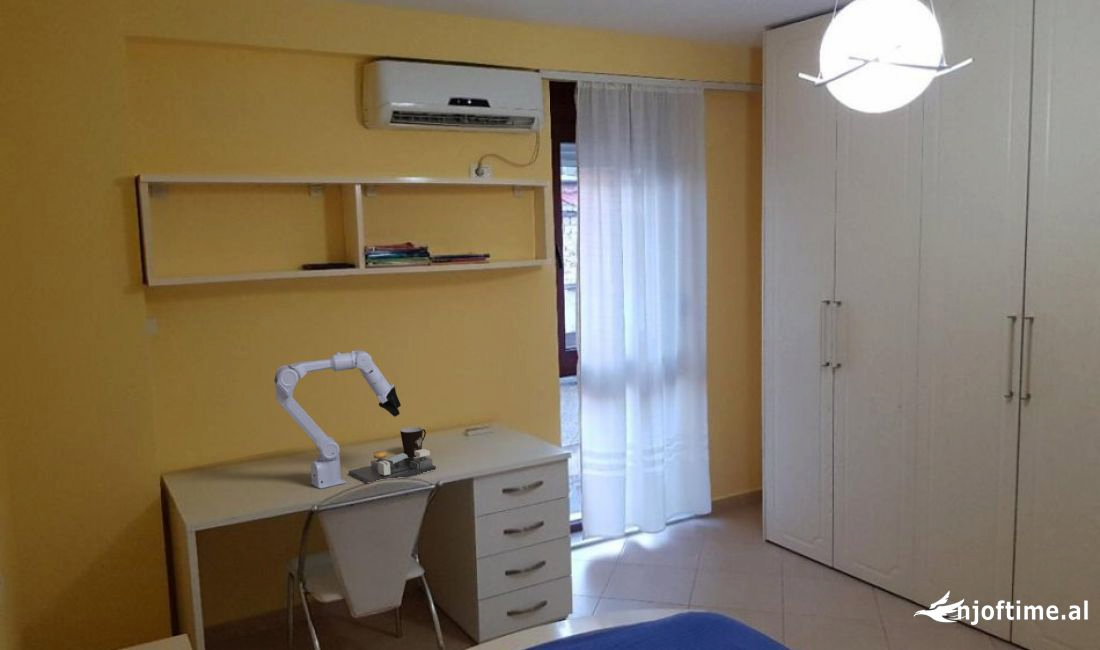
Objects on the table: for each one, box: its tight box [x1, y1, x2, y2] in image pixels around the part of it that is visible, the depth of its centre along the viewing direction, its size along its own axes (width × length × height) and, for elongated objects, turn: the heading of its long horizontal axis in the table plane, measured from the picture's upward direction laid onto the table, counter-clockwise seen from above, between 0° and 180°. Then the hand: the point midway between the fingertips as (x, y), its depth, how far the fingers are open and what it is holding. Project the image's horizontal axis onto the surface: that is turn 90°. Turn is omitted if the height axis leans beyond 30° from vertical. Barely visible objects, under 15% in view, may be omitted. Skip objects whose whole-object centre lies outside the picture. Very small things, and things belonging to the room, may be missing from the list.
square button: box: [414, 448, 431, 460], centre depth 296 cm, size 4×4×4 cm
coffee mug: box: [399, 426, 427, 458], centre depth 318 cm, size 12×9×10 cm
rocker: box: [387, 452, 409, 464], centre depth 300 cm, size 6×4×1 cm, turn 128°
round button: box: [373, 450, 387, 462], centre depth 296 cm, size 4×4×4 cm
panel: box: [348, 456, 437, 483], centre depth 294 cm, size 25×18×4 cm
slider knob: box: [378, 461, 391, 475], centre depth 287 cm, size 2×4×4 cm, turn 38°
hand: (397, 411), depth 292 cm, fingers open, 7 cm apart
